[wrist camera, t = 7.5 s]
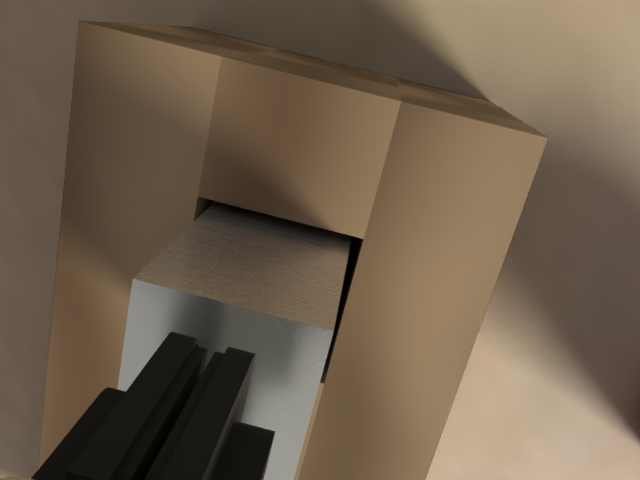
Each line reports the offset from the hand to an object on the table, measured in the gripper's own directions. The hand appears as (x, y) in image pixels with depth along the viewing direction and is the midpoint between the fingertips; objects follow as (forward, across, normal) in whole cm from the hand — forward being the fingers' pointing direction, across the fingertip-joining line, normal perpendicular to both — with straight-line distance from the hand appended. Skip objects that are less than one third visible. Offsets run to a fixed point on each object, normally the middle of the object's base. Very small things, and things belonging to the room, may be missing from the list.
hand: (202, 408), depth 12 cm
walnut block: (+15, 0, +7) cm, 16 cm away
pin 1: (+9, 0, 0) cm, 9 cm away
